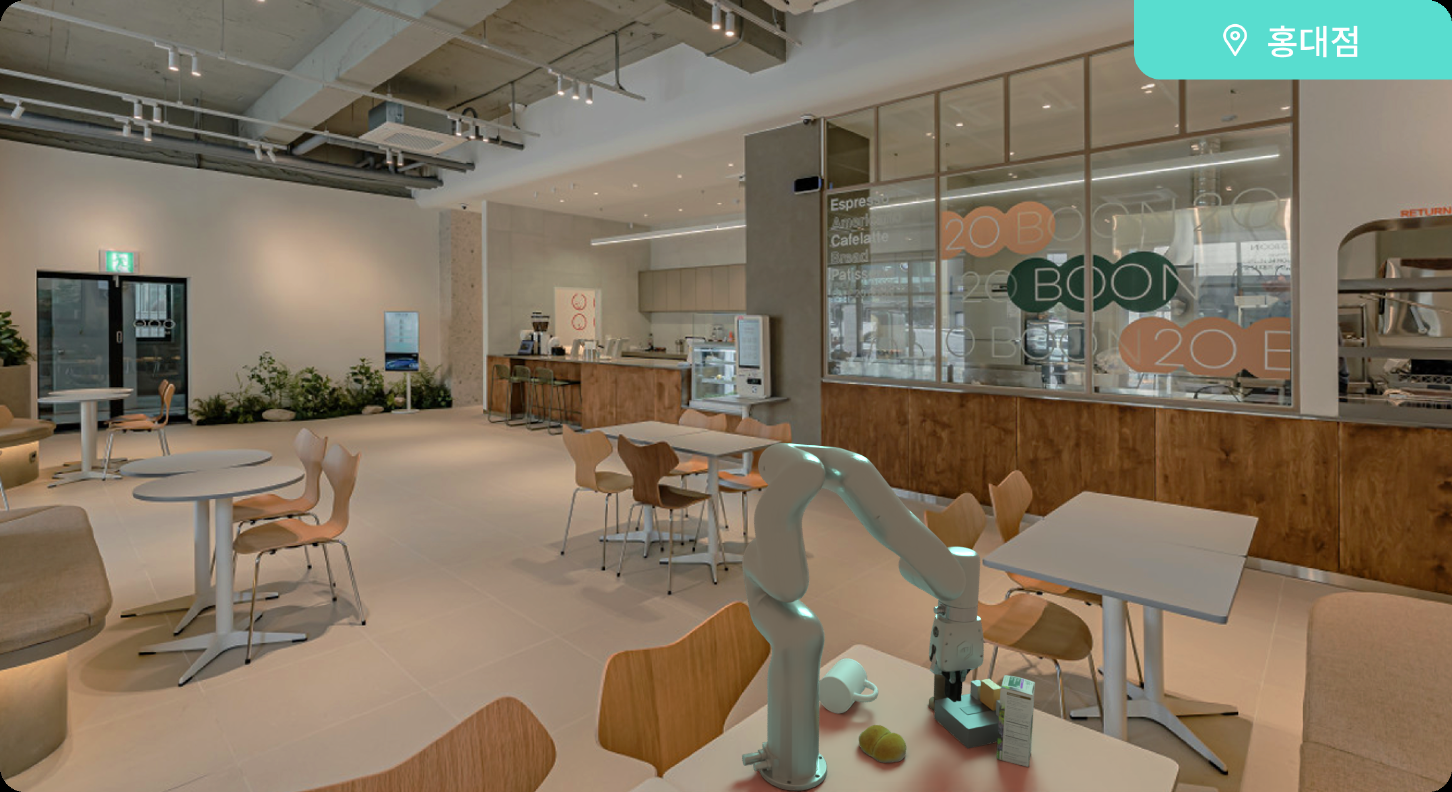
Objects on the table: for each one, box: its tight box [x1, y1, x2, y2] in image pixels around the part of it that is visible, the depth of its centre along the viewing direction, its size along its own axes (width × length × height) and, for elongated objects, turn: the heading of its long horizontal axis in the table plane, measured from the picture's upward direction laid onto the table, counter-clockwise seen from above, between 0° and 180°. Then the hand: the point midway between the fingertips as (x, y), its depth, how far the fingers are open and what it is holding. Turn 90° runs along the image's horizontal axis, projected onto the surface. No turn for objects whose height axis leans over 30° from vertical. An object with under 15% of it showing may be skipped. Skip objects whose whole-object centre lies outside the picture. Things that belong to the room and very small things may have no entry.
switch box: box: [933, 679, 1000, 749], centre depth 141 cm, size 14×11×7 cm
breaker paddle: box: [980, 678, 1001, 711], centre depth 142 cm, size 2×4×4 cm, turn 18°
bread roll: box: [858, 724, 907, 764], centre depth 134 cm, size 8×9×4 cm
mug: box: [819, 658, 879, 714], centre depth 150 cm, size 12×10×8 cm
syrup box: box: [996, 674, 1036, 768], centre depth 131 cm, size 6×6×14 cm
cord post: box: [928, 673, 948, 712], centre depth 148 cm, size 5×5×14 cm
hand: (952, 698), depth 139 cm, fingers closed
